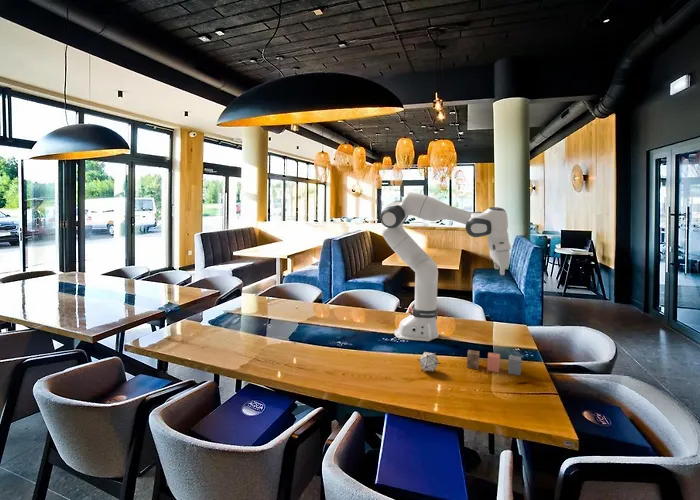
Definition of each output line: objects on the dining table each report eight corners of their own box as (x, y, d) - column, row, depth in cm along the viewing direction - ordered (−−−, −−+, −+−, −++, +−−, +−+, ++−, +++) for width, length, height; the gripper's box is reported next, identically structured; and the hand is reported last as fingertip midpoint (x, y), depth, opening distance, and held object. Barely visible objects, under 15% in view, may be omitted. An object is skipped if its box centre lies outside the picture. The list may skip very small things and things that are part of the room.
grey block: (508, 373, 157) (509, 359, 156) (508, 369, 161) (508, 355, 161) (520, 375, 156) (521, 360, 155) (520, 370, 160) (520, 356, 159)
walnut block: (466, 367, 163) (467, 353, 162) (467, 363, 167) (468, 349, 166) (478, 369, 161) (478, 355, 160) (478, 364, 165) (479, 351, 165)
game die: (423, 378, 160) (413, 355, 164) (442, 371, 160) (432, 347, 164) (424, 376, 152) (414, 351, 156) (445, 368, 152) (434, 344, 156)
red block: (487, 370, 160) (487, 356, 159) (487, 366, 164) (488, 352, 163) (499, 372, 158) (499, 357, 158) (499, 367, 162) (499, 353, 162)
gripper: (485, 238, 190) (487, 266, 193) (496, 248, 170) (498, 278, 173) (499, 237, 189) (500, 265, 192) (511, 246, 169) (512, 277, 172)
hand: (499, 271), depth 182 cm, fingers open, 8 cm apart
